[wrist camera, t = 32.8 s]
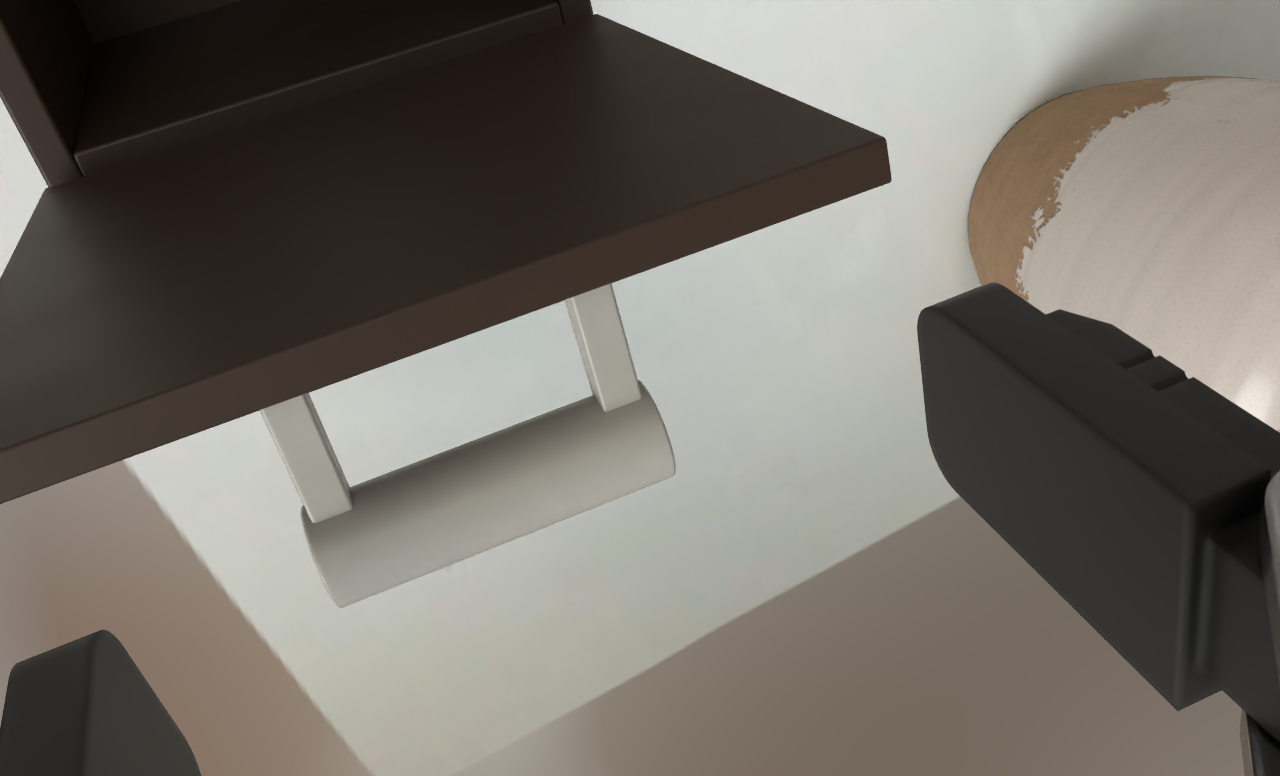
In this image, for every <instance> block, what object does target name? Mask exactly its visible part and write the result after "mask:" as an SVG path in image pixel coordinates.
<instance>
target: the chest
mask: <svg viewBox="0 0 1280 776" xmlns="http://www.w3.org/2000/svg"><path fill="white" fill-rule="evenodd" d="M592 15H593V11H592V6H591V2H590V0H0V97H1V99H2V101H3V103H4V105H5V107H6V108H7V110H8V112H9V114H10V116H11V118H12V120H13V122H14V123H15V125H16V127H17V129H18V131H19V133H20V135H21V136H22V138H23V140H24V142H25V144H26V146H27V148H28V150H29V151H30V153H31V155H32V157H33V159H34V161H35V163H36V165H37V166H38V168H39V170H40V172H41V174H42V176H43V178H44V179H45V181H46V183H47V185H48V187H52V186H55V185H58V184H61V183H65V182H68V181H71V180H74V179H77V178H80V177H84V176H87V175H90V174H93V173H96V172H99V171H102V170H106V169H109V168H112V167H115V166H118V165H121V164H125V163H128V162H131V161H134V160H137V159H140V158H144V157H147V156H150V155H153V154H156V153H159V152H162V151H166V150H169V149H172V148H175V147H178V146H181V145H185V144H188V143H191V142H194V141H197V140H200V139H204V138H207V137H210V136H213V135H216V134H219V133H222V132H226V131H229V130H232V129H235V128H238V127H241V126H245V125H248V124H251V123H254V122H257V121H260V120H264V119H267V118H270V117H273V116H276V115H279V114H282V113H286V112H289V111H292V110H295V109H298V108H301V107H305V106H308V105H311V104H314V103H317V102H320V101H324V100H327V99H330V98H333V97H336V96H339V95H342V94H346V93H349V92H352V91H355V90H358V89H361V88H365V87H368V86H371V85H374V84H377V83H380V82H384V81H387V80H390V79H393V78H396V77H399V76H402V75H406V74H409V73H412V72H415V71H418V70H421V69H425V68H428V67H431V66H434V65H437V64H440V63H444V62H447V61H450V60H453V59H456V58H459V57H462V56H466V55H469V54H472V53H475V52H478V51H481V50H485V49H488V48H491V47H494V46H497V45H500V44H503V43H507V42H510V41H513V40H516V39H519V38H522V37H526V36H529V35H532V34H535V33H538V32H541V31H545V30H548V29H551V28H554V27H557V26H560V25H563V24H567V23H570V22H573V21H576V20H579V19H582V18H586V17H589V16H592Z"/></svg>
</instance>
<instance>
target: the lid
mask: <svg viewBox="0 0 1280 776" xmlns="http://www.w3.org/2000/svg"><path fill="white" fill-rule="evenodd" d="M890 182H891V172H890V165H889V157H888V150H887V143H886V139H885V138H884V137H882V136H880V135H878V134H875V133H873V132H871V131H868V130H866V129H864V128H861V127H859V126H857V125H854V124H852V123H850V122H847V121H845V120H843V119H840V118H838V117H836V116H833V115H831V114H829V113H826V112H824V111H822V110H819V109H817V108H815V107H812V106H810V105H808V104H805V103H803V102H801V101H798V100H796V99H794V98H792V97H789V96H787V95H785V94H782V93H780V92H778V91H775V90H773V89H771V88H768V87H766V86H764V85H761V84H759V83H757V82H754V81H752V80H750V79H747V78H745V77H743V76H740V75H738V74H736V73H733V72H731V71H729V70H726V69H724V68H722V67H719V66H717V65H715V64H712V63H710V62H708V61H705V60H703V59H701V58H698V57H696V56H694V55H691V54H689V53H687V52H684V51H682V50H680V49H677V48H675V47H673V46H670V45H668V44H666V43H663V42H661V41H659V40H656V39H654V38H652V37H649V36H647V35H645V34H642V33H640V32H638V31H635V30H633V29H631V28H628V27H626V26H624V25H621V24H619V23H617V22H615V21H612V20H610V19H608V18H605V17H603V16H601V15H598V14H595V15H592V16H589V17H586V18H582V19H579V20H576V21H573V22H570V23H567V24H563V25H560V26H557V27H554V28H551V29H548V30H545V31H541V32H538V33H535V34H532V35H529V36H526V37H522V38H519V39H516V40H513V41H510V42H507V43H503V44H500V45H497V46H494V47H491V48H488V49H485V50H481V51H478V52H475V53H472V54H469V55H466V56H462V57H459V58H456V59H453V60H450V61H447V62H444V63H440V64H437V65H434V66H431V67H428V68H425V69H421V70H418V71H415V72H412V73H409V74H406V75H402V76H399V77H396V78H393V79H390V80H387V81H384V82H380V83H377V84H374V85H371V86H368V87H365V88H361V89H358V90H355V91H352V92H349V93H346V94H342V95H339V96H336V97H333V98H330V99H327V100H324V101H320V102H317V103H314V104H311V105H308V106H305V107H301V108H298V109H295V110H292V111H289V112H286V113H282V114H279V115H276V116H273V117H270V118H267V119H264V120H260V121H257V122H254V123H251V124H248V125H245V126H241V127H238V128H235V129H232V130H229V131H226V132H222V133H219V134H216V135H213V136H210V137H207V138H204V139H200V140H197V141H194V142H191V143H188V144H185V145H181V146H178V147H175V148H172V149H169V150H166V151H162V152H159V153H156V154H153V155H150V156H147V157H144V158H140V159H137V160H134V161H131V162H128V163H125V164H121V165H118V166H115V167H112V168H109V169H106V170H102V171H99V172H96V173H93V174H90V175H87V176H84V177H80V178H77V179H74V180H71V181H68V182H65V183H61V184H58V185H55V186H52V187H49V188H46V189H45V190H44V192H43V194H42V196H41V198H40V200H39V202H38V204H37V206H36V208H35V210H34V212H33V214H32V216H31V218H30V220H29V222H28V224H27V226H26V228H25V230H24V232H23V234H22V236H21V238H20V240H19V242H18V244H17V246H16V248H15V250H14V252H13V254H12V256H11V258H10V260H9V262H8V264H7V266H6V268H5V270H4V272H3V274H2V276H1V278H0V504H2V503H4V502H7V501H10V500H13V499H15V498H18V497H21V496H24V495H26V494H29V493H32V492H35V491H38V490H40V489H43V488H46V487H49V486H51V485H54V484H57V483H60V482H63V481H65V480H68V479H71V478H74V477H76V476H79V475H82V474H85V473H87V472H90V471H93V470H96V469H98V468H101V467H104V466H107V465H110V464H112V463H115V462H118V461H121V460H123V459H126V458H129V457H132V456H135V455H137V454H140V453H143V452H146V451H148V450H151V449H154V448H157V447H159V446H162V445H165V444H168V443H170V442H173V441H176V440H179V439H182V438H184V437H187V436H190V435H193V434H195V433H198V432H201V431H204V430H206V429H209V428H212V427H215V426H218V425H220V424H223V423H226V422H229V421H231V420H234V419H237V418H240V417H242V416H245V415H248V414H251V413H253V412H256V411H259V410H260V412H261V414H262V416H263V418H264V421H265V423H266V425H267V427H268V429H269V431H270V434H271V436H272V438H273V440H274V442H275V444H276V447H277V449H278V451H279V453H280V455H281V457H282V460H283V462H284V464H285V466H286V468H287V470H288V472H289V475H290V477H291V479H292V481H293V483H294V485H295V488H296V490H297V492H298V494H299V496H300V498H301V501H302V503H303V506H302V507H301V519H302V524H303V528H304V532H305V536H306V539H307V542H308V545H309V548H310V551H311V554H312V557H313V559H314V562H315V565H316V567H317V570H318V572H319V575H320V577H321V579H322V581H323V584H324V586H325V588H326V590H327V592H328V594H329V595H330V597H331V599H332V600H333V602H334V603H335V604H336V605H337V606H338V607H339V608H343V607H345V606H348V605H350V604H353V603H355V602H358V601H360V600H363V599H365V598H368V597H370V596H373V595H376V594H378V593H381V592H383V591H386V590H388V589H391V588H393V587H396V586H398V585H401V584H403V583H406V582H408V581H411V580H413V579H416V578H418V577H421V576H423V575H426V574H428V573H431V572H433V571H436V570H438V569H441V568H444V567H446V566H449V565H451V564H454V563H456V562H459V561H461V560H464V559H466V558H469V557H471V556H474V555H476V554H479V553H481V552H484V551H486V550H489V549H491V548H494V547H496V546H499V545H501V544H504V543H507V542H509V541H512V540H514V539H517V538H519V537H522V536H524V535H527V534H529V533H532V532H534V531H537V530H539V529H542V528H544V527H547V526H549V525H552V524H554V523H557V522H559V521H562V520H564V519H567V518H569V517H572V516H575V515H577V514H580V513H582V512H585V511H587V510H590V509H592V508H595V507H597V506H600V505H602V504H605V503H607V502H610V501H612V500H615V499H617V498H620V497H622V496H625V495H627V494H630V493H632V492H635V491H638V490H640V489H643V488H645V487H648V486H650V485H653V484H655V483H658V482H660V481H663V480H665V479H668V478H670V477H672V476H673V475H674V474H675V459H674V454H673V450H672V446H671V442H670V439H669V436H668V433H667V430H666V428H665V425H664V422H663V420H662V418H661V415H660V413H659V411H658V408H657V406H656V404H655V402H654V400H653V398H652V397H651V395H650V393H649V392H648V390H647V389H646V387H645V386H644V385H643V384H642V383H641V382H640V381H639V380H637V376H636V372H635V369H634V365H633V361H632V358H631V354H630V350H629V347H628V343H627V339H626V336H625V332H624V328H623V325H622V321H621V317H620V314H619V310H618V306H617V303H616V299H615V295H614V292H613V288H612V284H611V283H613V282H616V281H619V280H621V279H624V278H627V277H630V276H633V275H635V274H638V273H641V272H644V271H646V270H649V269H652V268H655V267H657V266H660V265H663V264H666V263H669V262H671V261H674V260H677V259H680V258H682V257H685V256H688V255H691V254H693V253H696V252H699V251H702V250H704V249H707V248H710V247H713V246H716V245H718V244H721V243H724V242H727V241H729V240H732V239H735V238H738V237H740V236H743V235H746V234H749V233H752V232H754V231H757V230H760V229H763V228H765V227H768V226H771V225H774V224H776V223H779V222H782V221H785V220H787V219H790V218H793V217H796V216H799V215H801V214H804V213H807V212H810V211H812V210H815V209H818V208H821V207H823V206H826V205H829V204H832V203H835V202H837V201H840V200H843V199H846V198H848V197H851V196H854V195H857V194H859V193H862V192H865V191H868V190H871V189H873V188H876V187H879V186H882V185H884V184H887V183H890ZM563 300H565V303H566V306H567V309H568V313H569V316H570V319H571V323H572V326H573V329H574V333H575V336H576V340H577V343H578V346H579V350H580V353H581V356H582V360H583V363H584V367H585V370H586V373H587V377H588V380H589V383H590V387H591V390H592V393H593V396H590V397H587V398H585V399H582V400H580V401H577V402H574V403H572V404H569V405H566V406H564V407H561V408H558V409H556V410H553V411H550V412H548V413H545V414H543V415H540V416H537V417H535V418H532V419H529V420H527V421H524V422H521V423H519V424H516V425H514V426H511V427H508V428H506V429H503V430H500V431H498V432H495V433H492V434H490V435H487V436H484V437H482V438H479V439H477V440H474V441H471V442H469V443H466V444H463V445H461V446H458V447H455V448H453V449H450V450H447V451H445V452H442V453H440V454H437V455H434V456H432V457H429V458H426V459H424V460H421V461H418V462H416V463H413V464H411V465H408V466H405V467H403V468H400V469H397V470H395V471H392V472H389V473H387V474H384V475H381V476H379V477H376V478H374V479H371V480H368V481H366V482H363V483H360V484H358V485H355V486H352V487H349V485H348V482H347V480H346V478H345V476H344V473H343V471H342V469H341V466H340V464H339V462H338V460H337V457H336V455H335V453H334V450H333V448H332V446H331V443H330V441H329V439H328V437H327V434H326V432H325V430H324V427H323V425H322V423H321V420H320V418H319V416H318V414H317V411H316V409H315V407H314V404H313V402H312V400H311V397H310V395H309V392H312V391H314V390H317V389H320V388H323V387H325V386H328V385H331V384H334V383H336V382H339V381H342V380H345V379H348V378H350V377H353V376H356V375H359V374H361V373H364V372H367V371H370V370H372V369H375V368H378V367H381V366H384V365H386V364H389V363H392V362H395V361H397V360H400V359H403V358H406V357H408V356H411V355H414V354H417V353H419V352H422V351H425V350H428V349H431V348H433V347H436V346H439V345H442V344H444V343H447V342H450V341H453V340H455V339H458V338H461V337H464V336H467V335H469V334H472V333H475V332H478V331H480V330H483V329H486V328H489V327H491V326H494V325H497V324H500V323H503V322H505V321H508V320H511V319H514V318H516V317H519V316H522V315H525V314H527V313H530V312H533V311H536V310H538V309H541V308H544V307H547V306H550V305H552V304H555V303H558V302H561V301H563Z"/></svg>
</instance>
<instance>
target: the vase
mask: <svg viewBox="0 0 1280 776" xmlns="http://www.w3.org/2000/svg"><path fill="white" fill-rule="evenodd" d="M968 238H969V246H970V251H971V255H972V258H973V261H974V264H975V268H976V271H977V274H978V277H979V280H980V282H981V284H982V286H983V285H985V284H988V283H998V284H1001V285H1003V286H1005V287H1006V288H1008V289H1009V290H1011V291H1012V292H1014V293H1015V294H1017V295H1018V296H1019V297H1021V298H1022V299H1024V300H1025V301H1027V302H1028V303H1030V304H1031V305H1033V306H1034V307H1036V308H1037V309H1038V310H1040V311H1041V312H1043V313H1044V314H1048V313H1051V312H1053V311H1056V310H1058V309H1061V310H1064V311H1067V312H1071V313H1074V314H1078V315H1081V316H1085V317H1088V318H1092V319H1095V320H1099V321H1102V322H1106V323H1109V324H1112V325H1114V326H1115V327H1117V328H1119V329H1120V330H1122V331H1123V332H1125V333H1126V334H1128V335H1129V336H1131V337H1132V338H1134V339H1136V340H1137V341H1139V342H1140V343H1142V344H1143V345H1145V346H1146V347H1148V348H1149V349H1151V350H1152V353H1153V355H1154V356H1155V357H1157V356H1159V355H1160V356H1162V357H1163V358H1165V359H1166V360H1168V361H1170V362H1171V363H1173V364H1174V365H1176V366H1177V367H1179V368H1180V369H1182V370H1184V371H1185V374H1186V376H1187V378H1188V379H1190V378H1192V377H1194V378H1196V379H1197V380H1199V381H1201V382H1202V383H1204V384H1205V385H1207V386H1208V387H1210V388H1211V389H1213V390H1214V391H1216V392H1218V393H1219V394H1221V395H1222V396H1224V397H1225V398H1227V399H1228V400H1230V401H1231V402H1233V403H1235V404H1236V405H1238V406H1239V407H1241V408H1242V409H1244V410H1245V411H1247V412H1248V413H1250V414H1252V415H1253V416H1255V417H1256V418H1258V419H1259V420H1261V421H1262V422H1264V423H1266V424H1267V425H1269V426H1270V427H1272V428H1273V429H1275V430H1276V431H1278V432H1279V433H1280V82H1279V81H1271V80H1261V79H1251V78H1242V77H1218V76H1195V77H1170V78H1156V79H1148V80H1140V81H1132V82H1124V83H1117V84H1109V85H1102V86H1097V87H1093V88H1089V89H1085V90H1082V91H1078V92H1074V93H1070V94H1066V95H1064V96H1061V97H1059V98H1057V99H1054V100H1052V101H1050V102H1047V103H1045V104H1043V105H1042V106H1040V107H1039V108H1037V109H1035V110H1034V111H1032V112H1030V113H1029V114H1028V115H1027V116H1026V117H1024V118H1023V119H1022V120H1021V121H1019V122H1018V123H1017V124H1016V125H1015V126H1014V127H1013V128H1012V129H1011V130H1010V131H1009V132H1008V133H1007V134H1006V135H1005V136H1004V137H1003V139H1002V140H1001V141H1000V143H999V144H998V145H997V146H996V148H995V149H994V150H993V152H992V153H991V155H990V157H989V158H988V160H987V162H986V163H985V165H984V167H983V169H982V171H981V173H980V176H979V178H978V180H977V182H976V185H975V188H974V191H973V195H972V198H971V202H970V208H969V214H968Z"/></svg>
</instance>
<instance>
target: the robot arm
mask: <svg viewBox="0 0 1280 776" xmlns="http://www.w3.org/2000/svg"><path fill="white" fill-rule="evenodd" d="M917 331H918V342H919V352H920V362H921V372H922V382H923V392H924V402H925V412H926V422H927V431H928V438H929V442H930V446H931V449H932V452H933V454H934V457H935V459H936V462H937V464H938V466H939V468H940V470H941V472H942V473H943V475H944V477H945V478H946V480H947V481H948V483H949V484H950V485H951V487H952V488H953V489H954V490H955V491H956V492H957V493H958V494H959V495H960V496H961V497H962V498H963V499H964V500H965V501H966V502H967V503H968V504H969V505H970V506H971V507H972V508H973V509H974V510H975V511H976V512H977V513H978V514H979V515H980V516H981V517H982V518H983V519H984V520H985V521H986V522H987V523H988V524H989V525H990V526H991V527H992V528H993V529H994V530H995V531H996V532H997V533H998V534H999V535H1001V537H1002V538H1003V539H1004V540H1005V541H1006V542H1007V543H1008V544H1009V545H1010V546H1011V547H1012V548H1013V549H1014V550H1015V551H1016V552H1017V553H1018V554H1020V556H1021V557H1022V558H1023V559H1024V560H1025V561H1027V563H1028V564H1029V565H1030V566H1031V567H1032V568H1034V569H1035V570H1036V571H1037V572H1038V573H1039V574H1040V575H1041V576H1042V577H1043V578H1044V579H1045V580H1046V581H1047V582H1048V583H1049V584H1050V585H1051V586H1052V587H1053V588H1054V589H1055V590H1056V591H1057V592H1058V593H1059V594H1060V595H1061V596H1062V597H1063V598H1064V599H1065V600H1066V601H1067V602H1068V603H1069V604H1070V605H1071V606H1072V607H1073V608H1074V609H1075V610H1076V611H1077V612H1078V613H1079V614H1080V615H1081V616H1082V617H1083V618H1084V619H1085V620H1086V621H1087V622H1088V623H1089V624H1090V625H1091V626H1092V627H1093V628H1094V629H1095V630H1096V631H1097V632H1098V633H1099V634H1100V635H1101V636H1102V637H1103V638H1104V639H1105V640H1106V641H1107V642H1109V644H1110V645H1111V646H1112V647H1113V648H1115V650H1116V651H1117V652H1119V654H1120V655H1121V656H1122V657H1123V658H1124V659H1125V660H1127V661H1128V662H1129V663H1130V664H1131V665H1132V666H1133V667H1134V668H1135V669H1136V670H1137V671H1138V672H1139V673H1140V674H1141V675H1142V676H1143V677H1144V678H1145V679H1146V680H1147V681H1148V682H1149V683H1150V684H1151V685H1152V686H1153V687H1154V688H1155V689H1156V690H1157V691H1158V692H1159V693H1160V694H1161V695H1162V696H1163V697H1164V698H1165V699H1166V700H1167V701H1168V702H1169V703H1170V704H1171V705H1172V706H1173V707H1174V708H1175V709H1176V710H1177V711H1179V710H1181V709H1183V708H1185V707H1187V706H1190V705H1192V704H1194V703H1196V702H1198V701H1200V700H1202V699H1204V698H1206V697H1208V696H1211V695H1213V694H1215V693H1217V692H1219V691H1221V690H1223V691H1224V692H1225V693H1226V694H1227V695H1228V696H1229V697H1230V698H1231V699H1233V700H1234V701H1235V702H1236V703H1237V704H1238V705H1239V706H1240V707H1241V708H1242V710H1241V720H1240V738H1241V747H1242V755H1243V765H1244V772H1245V776H1280V433H1279V432H1278V431H1276V430H1275V429H1273V428H1272V427H1270V426H1269V425H1267V424H1266V423H1264V422H1262V421H1261V420H1259V419H1258V418H1256V417H1255V416H1253V415H1252V414H1250V413H1248V412H1247V411H1245V410H1244V409H1242V408H1241V407H1239V406H1238V405H1236V404H1235V403H1233V402H1231V401H1230V400H1228V399H1227V398H1225V397H1224V396H1222V395H1221V394H1219V393H1218V392H1216V391H1214V390H1213V389H1211V388H1210V387H1208V386H1207V385H1205V384H1204V383H1202V382H1201V381H1199V380H1197V379H1196V378H1194V377H1192V378H1190V379H1188V378H1187V376H1186V374H1185V371H1184V370H1182V369H1180V368H1179V367H1177V366H1176V365H1174V364H1173V363H1171V362H1170V361H1168V360H1166V359H1165V358H1163V357H1162V356H1160V355H1159V356H1157V357H1155V356H1154V355H1153V353H1152V350H1151V349H1149V348H1148V347H1146V346H1145V345H1143V344H1142V343H1140V342H1139V341H1137V340H1136V339H1134V338H1132V337H1131V336H1129V335H1128V334H1126V333H1125V332H1123V331H1122V330H1120V329H1119V328H1117V327H1115V326H1114V325H1112V324H1109V323H1106V322H1102V321H1099V320H1095V319H1092V318H1088V317H1085V316H1081V315H1078V314H1074V313H1071V312H1067V311H1064V310H1061V309H1058V310H1056V311H1053V312H1051V313H1048V314H1044V313H1043V312H1041V311H1040V310H1038V309H1037V308H1036V307H1034V306H1033V305H1031V304H1030V303H1028V302H1027V301H1025V300H1024V299H1022V298H1021V297H1019V296H1018V295H1017V294H1015V293H1014V292H1012V291H1011V290H1009V289H1008V288H1006V287H1005V286H1003V285H1001V284H998V283H988V284H985V285H983V286H980V287H978V288H975V289H973V290H970V291H968V292H965V293H962V294H960V295H957V296H955V297H952V298H950V299H947V300H945V301H942V302H940V303H937V304H935V305H932V306H929V307H927V308H924V309H923V310H922V311H921V313H920V315H919V318H918V325H917ZM0 776H201V774H200V771H199V767H198V765H197V762H196V759H195V757H194V755H193V752H192V750H191V748H190V746H189V744H188V743H187V741H186V739H185V737H184V736H183V734H182V733H181V731H180V730H179V728H178V727H177V725H176V724H175V722H174V721H173V719H172V718H171V716H170V715H169V713H168V712H167V710H166V709H165V708H164V706H163V705H162V703H161V702H160V700H159V699H158V697H157V696H156V694H155V693H154V691H153V690H152V688H151V687H150V685H149V684H148V682H147V681H146V679H145V678H144V677H143V675H142V674H141V672H140V670H139V669H138V668H137V666H136V665H135V663H134V662H133V660H132V659H131V658H130V656H129V654H128V653H127V651H126V650H125V648H124V647H123V646H122V644H121V643H120V641H119V640H118V639H117V638H116V637H115V636H114V635H113V634H111V633H110V632H109V631H106V630H100V631H98V632H95V633H92V634H90V635H87V636H85V637H82V638H80V639H77V640H75V641H72V642H70V643H67V644H64V645H62V646H59V647H57V648H55V649H52V650H49V651H47V652H44V653H42V654H39V655H37V656H34V657H31V658H29V659H26V660H24V661H21V662H19V663H17V664H16V665H14V667H13V668H12V670H11V672H10V676H9V681H8V686H7V692H6V698H5V704H4V710H3V716H2V722H1V727H0Z"/></svg>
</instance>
